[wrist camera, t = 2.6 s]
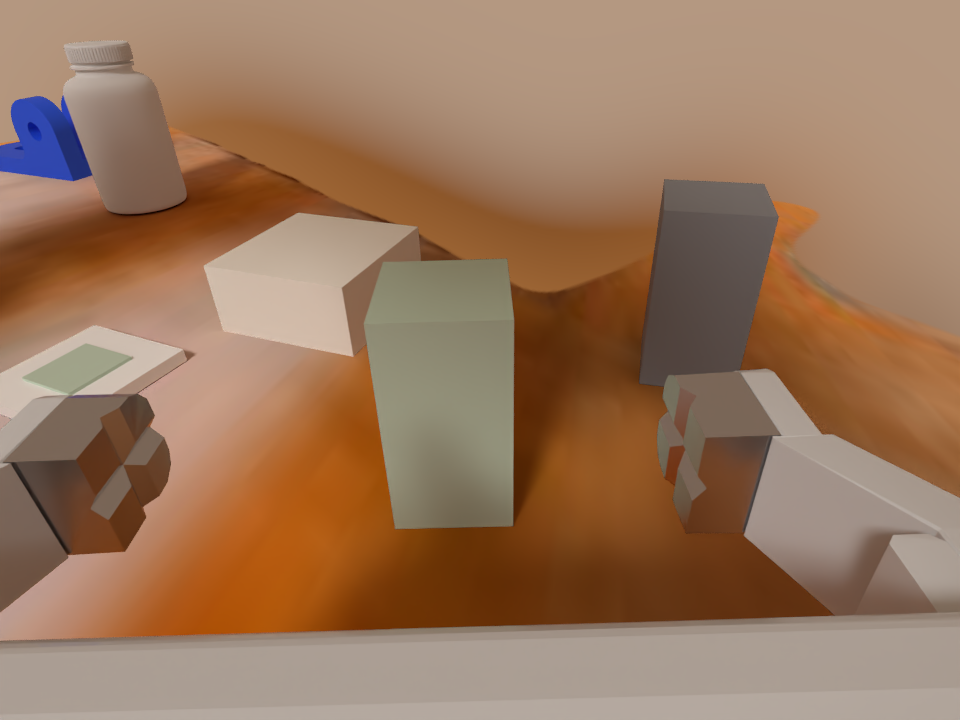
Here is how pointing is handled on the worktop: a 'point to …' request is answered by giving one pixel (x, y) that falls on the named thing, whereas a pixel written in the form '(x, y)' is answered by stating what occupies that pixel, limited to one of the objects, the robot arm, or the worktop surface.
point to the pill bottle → (122, 129)
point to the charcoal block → (705, 277)
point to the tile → (88, 368)
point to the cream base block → (308, 280)
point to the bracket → (44, 142)
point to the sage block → (445, 390)
